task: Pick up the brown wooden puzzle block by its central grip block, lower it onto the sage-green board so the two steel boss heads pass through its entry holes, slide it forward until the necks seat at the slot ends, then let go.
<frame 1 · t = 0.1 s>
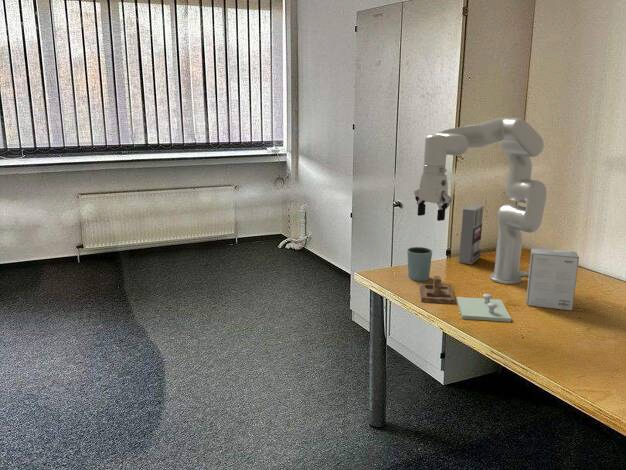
hand: (430, 217, 198), 31 cm above the table, tool pointing down, fingers open, 9 cm apart
blue-grey cup: (417, 278, 229), on the table
hard drive box: (548, 305, 201), on the table
brown wooden puzzle block: (436, 295, 209), on the table
board: (482, 310, 195), on the table
tall grey labeled box: (469, 260, 255), on the table
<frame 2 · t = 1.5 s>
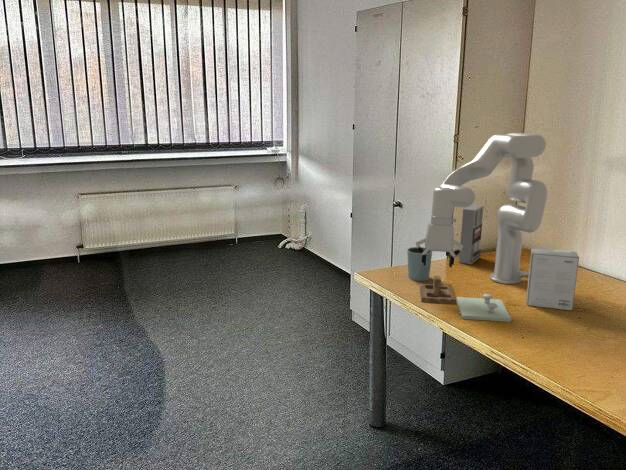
hand: (437, 265, 206), 12 cm above the table, tool pointing down, fingers open, 9 cm apart
nothing on the table moved.
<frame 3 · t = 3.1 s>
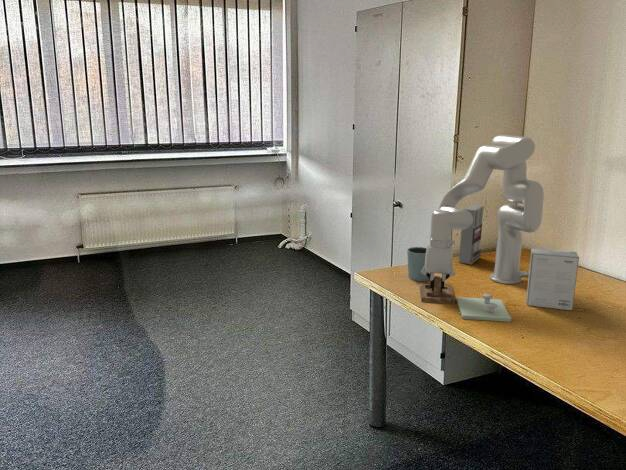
hand: (436, 289, 209), 2 cm above the table, tool pointing down, fingers closed on brown wooden puzzle block, 2 cm apart
brown wooden puzzle block: (436, 295, 209), on the table, touching gripper
everything else where it was.
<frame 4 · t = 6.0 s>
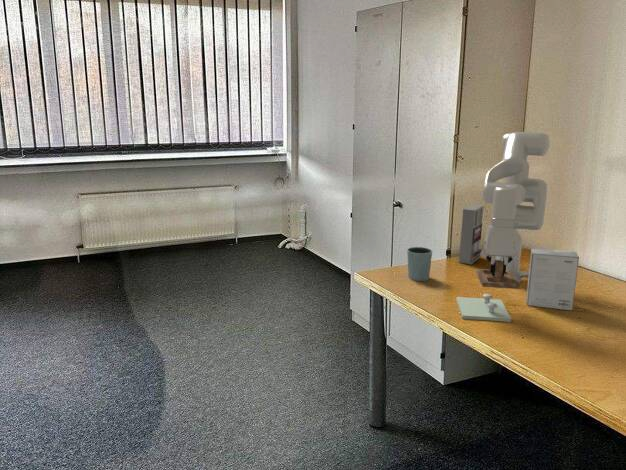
hand: (497, 274, 191), 14 cm above the table, tool pointing down, fingers closed on brown wooden puzzle block, 2 cm apart
brown wooden puzzle block: (496, 280, 191), point 12 cm above the table, touching gripper
everything else where it was.
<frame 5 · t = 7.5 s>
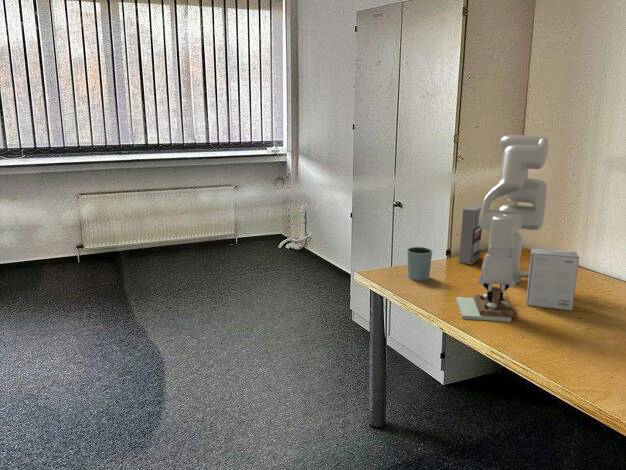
hand: (494, 301, 194), 4 cm above the table, tool pointing down, fingers closed on brown wooden puzzle block, 2 cm apart
brown wooden puzzle block: (493, 307, 194), point 1 cm above the table, touching gripper
everything else where it was.
when the fingers open (4 cm above the table, at t = 8.8 s): brown wooden puzzle block stays where it is, resting on board.
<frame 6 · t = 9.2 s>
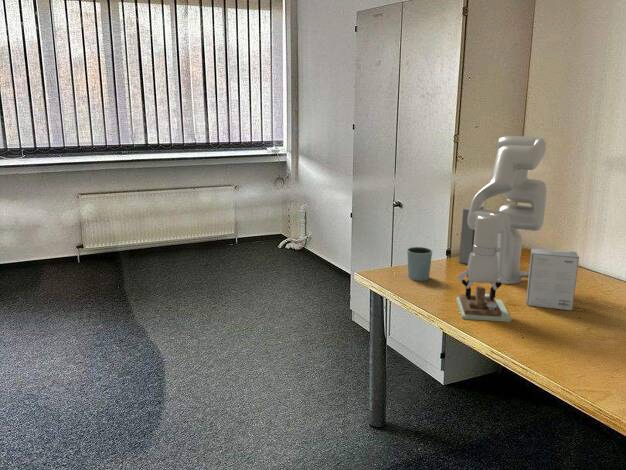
hand: (479, 298, 194), 4 cm above the table, tool pointing down, fingers open, 7 cm apart
brown wooden puzzle block: (479, 306, 195), point 1 cm above the table, touching board
everything else where it was.
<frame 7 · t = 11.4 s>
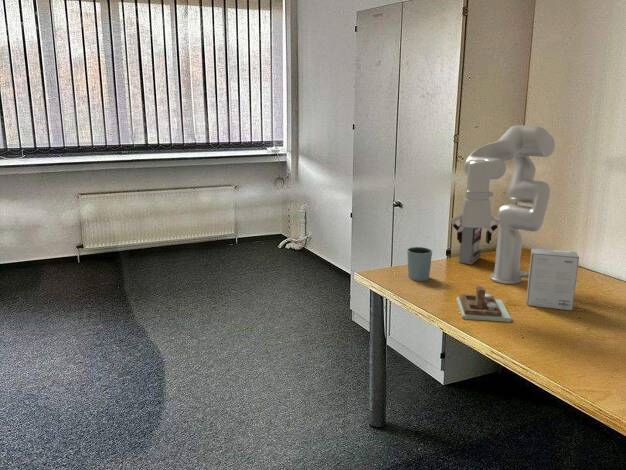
hand: (473, 242, 198), 23 cm above the table, tool pointing down, fingers open, 9 cm apart
nothing on the table moved.
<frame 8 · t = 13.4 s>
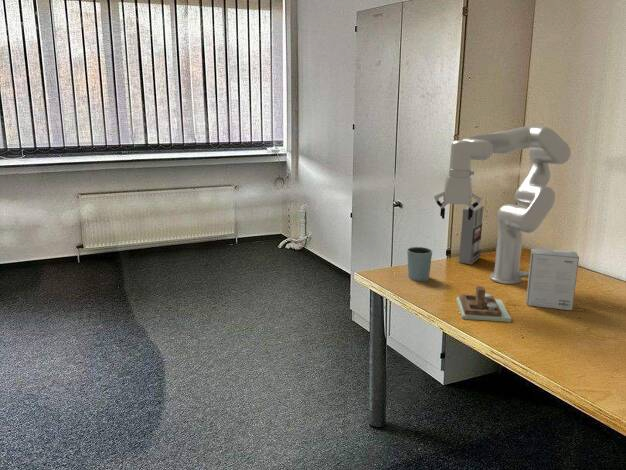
hand: (455, 218, 209), 28 cm above the table, tool pointing down, fingers open, 9 cm apart
nothing on the table moved.
at the end: brown wooden puzzle block 0.2 cm from the target spot on the board, point 1.2 cm above the board's base; brown wooden puzzle block tilted 0°; the gripper is holding nothing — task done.
